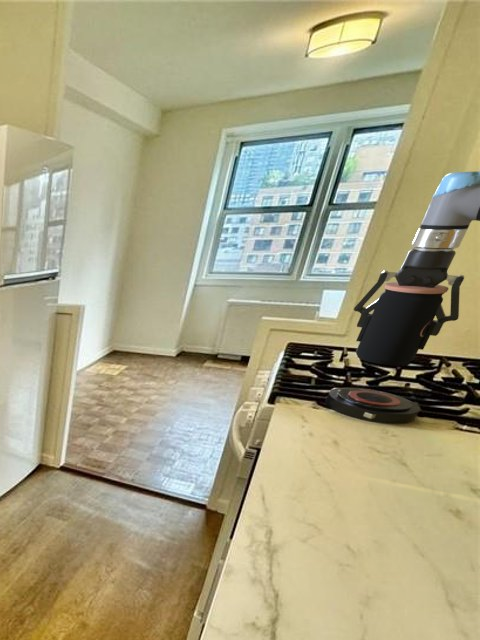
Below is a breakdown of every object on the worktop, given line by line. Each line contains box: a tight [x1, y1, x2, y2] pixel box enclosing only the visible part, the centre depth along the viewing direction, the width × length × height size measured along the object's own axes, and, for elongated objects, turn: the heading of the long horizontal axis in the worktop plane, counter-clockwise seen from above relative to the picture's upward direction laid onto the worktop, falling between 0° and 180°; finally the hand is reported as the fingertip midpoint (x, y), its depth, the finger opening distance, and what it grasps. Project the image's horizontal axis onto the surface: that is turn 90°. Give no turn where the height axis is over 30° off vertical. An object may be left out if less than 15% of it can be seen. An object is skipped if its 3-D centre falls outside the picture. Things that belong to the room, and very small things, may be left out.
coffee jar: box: [355, 281, 449, 366], centre depth 118 cm, size 11×11×18 cm
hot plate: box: [324, 387, 421, 425], centre depth 115 cm, size 16×16×3 cm
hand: (388, 344), depth 120 cm, fingers closed on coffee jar, 11 cm apart
